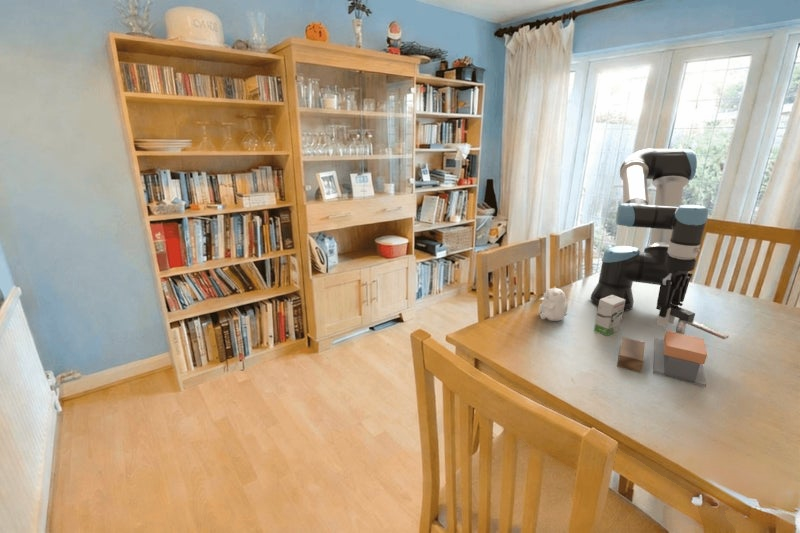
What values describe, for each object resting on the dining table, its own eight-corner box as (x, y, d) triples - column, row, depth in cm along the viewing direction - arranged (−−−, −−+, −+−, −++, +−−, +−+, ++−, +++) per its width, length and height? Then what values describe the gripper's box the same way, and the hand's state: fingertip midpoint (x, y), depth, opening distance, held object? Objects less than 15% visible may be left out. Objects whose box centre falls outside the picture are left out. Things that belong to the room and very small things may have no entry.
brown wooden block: (616, 366, 110) (619, 354, 109) (620, 348, 120) (622, 337, 119) (640, 372, 107) (643, 360, 106) (642, 353, 117) (644, 342, 115)
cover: (664, 354, 105) (666, 345, 104) (663, 339, 113) (666, 330, 112) (704, 364, 101) (707, 355, 100) (701, 347, 108) (703, 338, 108)
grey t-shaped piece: (715, 363, 109) (725, 329, 106) (650, 332, 127) (657, 302, 123) (721, 361, 110) (732, 327, 106) (656, 330, 128) (663, 300, 124)
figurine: (562, 313, 144) (566, 284, 140) (570, 325, 135) (575, 294, 131) (535, 312, 145) (538, 283, 141) (542, 324, 136) (545, 293, 132)
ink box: (607, 336, 127) (613, 304, 123) (592, 330, 131) (598, 299, 127) (620, 329, 131) (626, 298, 127) (606, 323, 135) (612, 293, 131)
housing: (653, 372, 107) (657, 354, 105) (654, 338, 126) (658, 322, 124) (705, 387, 101) (711, 368, 99) (698, 348, 119) (703, 331, 117)
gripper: (679, 263, 109) (662, 334, 117) (709, 255, 116) (691, 322, 123) (653, 256, 115) (638, 324, 123) (683, 249, 122) (667, 313, 130)
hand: (665, 323), depth 123 cm, fingers open, 3 cm apart
